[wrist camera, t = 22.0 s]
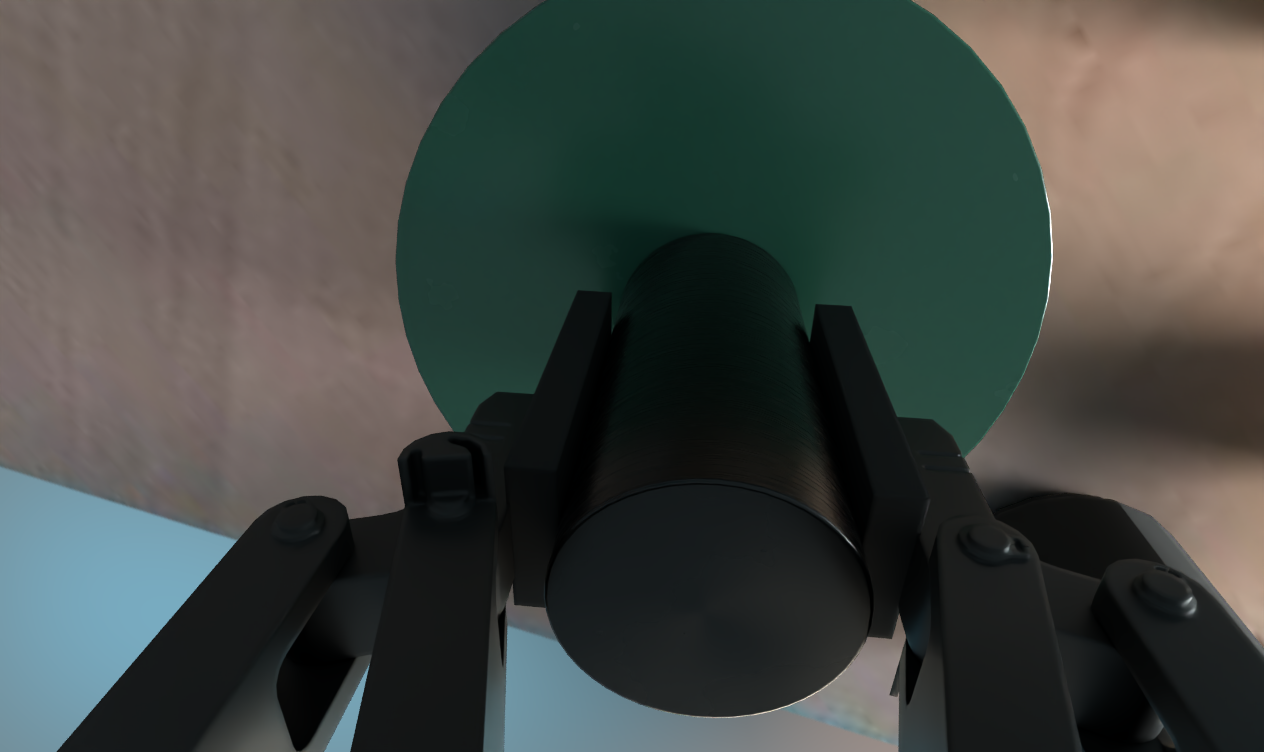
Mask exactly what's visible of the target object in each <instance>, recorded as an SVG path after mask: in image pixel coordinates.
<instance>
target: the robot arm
mask: <svg viewBox="0 0 1264 752" xmlns="http://www.w3.org/2000/svg"><path fill="white" fill-rule="evenodd" d="M611 329H612V292H599V291H582V290H578V291H577V293H576V295H575V298H574V300H573V302H572V305H571V307H570V310H569V312H568V314H567V317H566V319H565V322H564V324H563V326H562V329H561V331H560V333H559V336H558V338H557V341H556V343H555V345H554V348H553V350H552V352H551V355H550V357H549V360H548V362H547V364H546V367H545V369H544V371H543V374H542V376H541V379H540V381H539V383H538V386H537V388H536V390H535V393H534V394H526V393H511V392H496V393H494V394H493V395H492V396H490V397H489V398H487V399H486V400H485V401H483V402H482V403H481V404H479V405H478V407H477V409H476V411H475V413H474V415H473V416H472V418H471V420H470V424H468V426H467V428H466V430H465V431H464V432H453V431H448V432H442V433H435V434H430V435H428V436H425V437H423V438H420V439H418V440H415V441H414V442H413V443H411V444H410V445H408V446H407V447H406V448H404V449H403V451H402V453H401V454H400V456H399V458H398V459H397V461H398V467H399V473H400V479H401V485H402V491H403V497H404V503H405V508H404V509H402V510H400V511H397V512H393V513H388V514H384V515H378V516H370V517H363V518H356V519H349V517H348V514H347V510H346V507H345V506H344V505H343V504H341V503H340V502H339V501H338V500H336V499H333V498H329V497H325V496H303V497H299V498H295V499H291V500H287V501H284V502H282V503H280V504H278V505H276V506H274V507H272V508H270V509H268V510H267V511H265V512H264V513H263V514H262V515H261V516H260V517H258V518H257V519H256V520H255V521H254V522H253V523H252V524H251V526H250V527H249V528H248V529H247V530H246V531H245V533H244V534H243V535H242V536H241V537H240V538H239V540H238V541H237V542H236V543H235V544H234V545H233V547H232V548H231V549H230V550H229V551H228V552H227V554H226V555H225V556H224V557H223V558H222V559H221V561H220V562H219V563H218V564H217V565H216V566H215V568H214V569H213V570H212V571H211V572H210V573H209V575H208V576H207V577H206V578H205V579H204V580H203V582H202V583H201V584H200V585H199V586H198V587H197V589H196V590H195V591H194V592H193V593H192V594H191V596H190V597H189V598H188V599H187V600H186V601H185V603H184V604H183V605H182V606H181V607H180V608H179V610H178V611H177V612H176V613H175V614H174V616H173V617H172V618H171V619H170V620H169V621H168V622H167V624H166V625H165V626H164V627H163V628H162V629H161V631H160V632H159V633H158V634H157V635H156V636H155V638H154V639H153V640H152V641H151V642H150V644H149V645H148V646H147V647H146V648H145V649H144V650H143V652H142V653H141V654H140V655H139V656H138V657H137V659H136V660H135V661H134V662H133V663H132V664H131V666H130V667H129V668H128V669H127V670H126V671H125V673H124V674H123V675H122V676H121V677H120V678H119V680H118V681H117V682H116V683H115V684H114V685H113V687H112V688H111V689H110V690H109V691H108V692H107V694H106V695H105V696H104V697H103V698H102V699H101V701H100V702H99V703H98V704H97V705H96V707H95V708H94V709H93V710H92V711H91V712H90V713H89V715H88V716H87V717H86V718H85V719H84V720H83V722H82V723H81V724H80V725H79V726H78V727H77V729H76V730H75V731H74V732H73V733H72V734H71V736H70V737H69V738H68V739H67V740H66V741H65V743H64V744H63V745H62V746H61V747H60V749H59V750H58V751H57V752H324V751H325V749H326V747H327V745H328V743H329V741H330V739H331V737H332V735H333V734H334V732H335V730H336V728H337V725H338V724H339V722H340V720H341V718H342V716H343V714H344V712H345V710H346V708H347V706H348V704H349V702H350V700H351V698H352V697H353V695H354V693H355V691H356V689H357V687H358V685H359V683H360V681H361V679H362V677H363V675H364V673H365V671H366V669H367V667H368V665H369V664H370V665H369V670H368V675H367V679H366V683H365V688H364V693H363V697H362V702H361V706H360V711H359V715H358V720H357V724H356V729H355V734H354V738H353V742H352V747H351V751H350V752H504V732H505V694H506V656H507V616H506V601H507V598H508V595H509V592H510V589H511V586H512V583H513V593H514V605H521V606H532V607H543V608H546V606H545V599H544V581H545V575H546V571H547V566H548V562H549V559H550V555H551V551H552V548H553V544H554V541H555V537H556V533H557V530H558V526H559V523H560V519H561V515H562V512H563V508H564V504H565V501H566V497H567V494H568V490H569V486H570V483H571V479H572V476H573V472H574V468H575V465H576V461H577V457H578V454H579V450H580V447H581V443H582V439H583V436H584V432H585V429H586V425H587V421H588V418H589V414H590V410H591V407H592V403H593V400H594V396H595V392H596V389H597V385H598V382H599V378H600V374H601V371H602V367H603V363H604V360H605V356H606V353H607V349H608V345H609V342H610V338H611ZM810 347H811V351H812V354H813V358H814V362H815V366H816V370H817V374H818V378H819V381H820V385H821V389H822V393H823V397H824V401H825V404H826V408H827V412H828V416H829V420H830V424H831V427H832V431H833V435H834V439H835V443H836V447H837V450H838V454H839V458H840V462H841V466H842V470H843V474H844V477H845V481H846V485H847V489H848V493H849V497H850V500H851V504H852V508H853V512H854V516H855V520H856V523H857V527H858V531H859V535H860V539H861V543H862V547H863V550H864V554H865V558H866V562H867V566H868V570H869V573H870V578H871V582H872V587H873V591H874V612H873V618H872V624H871V627H870V630H869V633H868V636H867V637H878V638H889V639H892V637H893V633H894V630H895V626H896V622H897V619H898V615H899V613H900V616H901V620H902V623H903V627H904V630H905V634H906V641H905V644H904V647H903V651H902V654H901V658H900V661H899V665H898V668H897V671H896V675H895V678H894V682H893V685H892V688H891V692H890V695H892V696H895V697H897V696H898V693H899V752H1264V656H1263V655H1262V654H1261V652H1260V651H1259V650H1258V649H1257V648H1256V646H1255V645H1254V644H1253V643H1252V641H1251V640H1250V639H1249V638H1248V637H1247V635H1246V634H1245V633H1244V632H1243V630H1242V629H1241V628H1240V627H1239V626H1238V624H1237V623H1236V622H1235V621H1234V620H1233V618H1232V617H1231V616H1230V615H1229V613H1228V612H1227V611H1226V610H1225V609H1224V607H1223V606H1222V605H1221V604H1220V603H1219V601H1218V600H1217V599H1216V598H1215V597H1214V596H1213V595H1212V594H1211V593H1210V592H1209V591H1208V590H1207V589H1205V588H1204V587H1203V586H1202V585H1201V584H1200V583H1198V582H1197V581H1195V580H1193V579H1192V578H1190V577H1188V576H1187V575H1185V574H1183V573H1182V572H1180V571H1178V570H1175V569H1173V568H1171V567H1167V566H1165V565H1162V564H1160V563H1157V562H1152V561H1146V560H1141V559H1124V560H1118V561H1116V562H1114V563H1112V564H1111V565H1109V566H1108V567H1107V569H1106V571H1105V573H1104V575H1103V578H1102V580H1100V579H1096V578H1093V577H1089V576H1086V575H1082V574H1079V573H1075V572H1072V571H1069V570H1065V569H1062V568H1059V567H1056V566H1053V565H1050V564H1047V563H1045V562H1042V561H1040V560H1039V556H1038V554H1037V552H1036V550H1035V548H1034V546H1033V545H1032V543H1031V542H1030V541H1029V540H1028V539H1027V538H1026V537H1025V536H1023V535H1022V534H1021V533H1020V532H1019V531H1017V530H1016V529H1014V528H1012V527H1010V526H1008V525H1007V524H1005V523H1003V522H1001V521H998V520H996V519H995V517H994V516H993V514H992V512H991V510H990V508H989V506H988V504H987V502H986V500H985V498H984V496H983V494H982V492H981V490H980V488H979V486H978V484H977V482H976V480H975V479H974V477H973V475H972V473H969V467H968V465H967V463H966V461H965V459H964V458H962V453H961V451H960V449H959V447H958V445H957V444H956V442H955V440H954V438H953V436H952V435H951V434H950V433H949V432H947V431H946V430H945V429H944V428H943V427H941V426H940V425H939V424H938V423H937V422H935V421H934V420H933V419H921V418H907V417H897V415H896V413H895V410H894V408H893V406H892V403H891V401H890V398H889V396H888V393H887V391H886V389H885V386H884V384H883V381H882V379H881V376H880V374H879V372H878V369H877V367H876V364H875V362H874V359H873V357H872V355H871V352H870V350H869V347H868V345H867V342H866V340H865V338H864V335H863V333H862V330H861V328H860V325H859V323H858V321H857V318H856V316H855V313H854V311H853V308H852V306H844V305H827V304H816V305H815V311H814V318H813V324H812V330H811V337H810Z"/></svg>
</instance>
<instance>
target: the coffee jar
mask: <svg viewBox="0 0 1264 752" xmlns="http://www.w3.org/2000/svg"><path fill="white" fill-rule="evenodd" d="M993 516H994V517H995V519H996V520H998V521H1001V522H1003V523H1005V524H1007V525H1008V526H1010V527H1012V528H1014V529H1016V530H1017V531H1019V532H1020V533H1021V534H1022V535H1023V536H1025V537H1026V538H1027V539H1028V540H1029V541H1030V542H1031V543H1032V545H1033V546H1034V548H1035V550H1036V552H1037V554H1038V556H1039V560H1040V561H1042V562H1045V563H1047V564H1050V565H1053V566H1056V567H1059V568H1062V569H1065V570H1069V571H1072V572H1075V573H1079V574H1082V575H1086V576H1089V577H1093V578H1096V579H1100V580H1102V578H1103V575H1104V573H1105V571H1106V569H1107V567H1108V566H1109V565H1111V564H1112V563H1114V562H1116V561H1118V560H1124V559H1141V560H1146V561H1152V562H1157V563H1160V564H1162V565H1165V566H1167V567H1171V568H1173V569H1175V570H1178V571H1180V572H1182V573H1183V574H1185V575H1187V576H1188V577H1190V578H1192V579H1193V580H1195V581H1197V582H1198V583H1200V584H1201V585H1202V586H1203V587H1204V588H1205V589H1207V590H1208V591H1209V592H1210V593H1211V594H1212V595H1213V596H1214V597H1215V598H1216V599H1217V600H1218V601H1219V603H1220V604H1221V605H1222V606H1223V607H1224V609H1225V610H1226V611H1227V612H1228V613H1229V615H1230V616H1231V617H1232V618H1233V620H1234V621H1235V622H1236V623H1237V624H1238V626H1239V627H1240V628H1241V629H1242V630H1243V632H1244V633H1245V634H1246V635H1247V637H1248V638H1249V639H1250V640H1251V641H1252V643H1253V644H1254V645H1255V646H1256V648H1257V649H1258V650H1259V651H1260V652H1261V654H1262V655H1263V656H1264V648H1263V646H1262V645H1261V644H1260V643H1259V641H1258V640H1257V639H1256V638H1255V637H1254V635H1253V634H1252V633H1251V632H1250V630H1249V629H1248V628H1247V627H1246V625H1245V624H1244V623H1243V622H1242V621H1241V619H1240V618H1239V617H1238V616H1237V614H1236V613H1235V612H1234V611H1233V609H1232V608H1231V607H1230V606H1229V605H1228V603H1227V602H1226V601H1225V600H1224V598H1223V597H1222V596H1221V595H1220V593H1219V592H1218V591H1217V590H1216V588H1215V587H1214V586H1213V585H1212V584H1211V582H1210V581H1209V580H1208V579H1207V577H1206V576H1205V575H1204V574H1203V572H1202V571H1201V570H1200V569H1199V568H1198V566H1197V565H1196V564H1195V563H1194V561H1193V560H1192V559H1191V558H1190V556H1189V555H1188V554H1187V553H1186V551H1185V550H1184V549H1183V548H1182V547H1181V545H1180V544H1179V543H1178V542H1177V540H1176V539H1175V538H1174V537H1173V536H1172V535H1171V534H1170V533H1169V532H1168V531H1167V530H1166V529H1165V528H1164V527H1163V526H1161V525H1160V524H1159V523H1158V522H1157V521H1156V520H1155V519H1154V518H1153V517H1152V516H1150V515H1148V514H1146V513H1144V512H1141V511H1139V510H1136V509H1134V508H1131V507H1129V506H1127V505H1124V504H1122V503H1119V502H1117V501H1114V500H1111V499H1103V498H1101V497H1096V496H1086V495H1077V494H1068V493H1064V494H1056V495H1049V496H1041V497H1033V498H1030V499H1027V500H1024V501H1021V502H1019V503H1016V504H1013V505H1011V506H1008V507H1005V508H1002V509H1000V510H999V511H997V512H996V513H994V514H993Z"/></svg>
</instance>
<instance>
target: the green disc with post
mask: <svg viewBox="0 0 1264 752" xmlns="http://www.w3.org/2000/svg"><path fill="white" fill-rule="evenodd" d="M1052 259H1053V248H1052V229H1051V211H1050V207H1049V202H1048V197H1047V192H1046V187H1045V183H1044V178H1043V173H1042V168H1041V166H1040V163H1039V161H1038V158H1037V155H1036V153H1035V150H1034V147H1033V145H1032V142H1031V140H1030V137H1029V134H1028V132H1027V129H1026V127H1025V125H1024V123H1023V121H1022V119H1021V118H1020V116H1019V114H1018V112H1017V111H1016V109H1015V107H1014V106H1013V104H1012V102H1011V100H1010V99H1009V97H1008V95H1007V93H1006V92H1005V90H1004V88H1003V87H1002V85H1001V84H1000V82H999V81H998V80H997V79H996V78H995V76H994V75H993V74H992V73H991V71H990V70H989V69H988V68H987V67H986V65H985V64H984V63H983V62H982V61H981V59H980V58H979V57H978V56H977V54H976V53H975V52H974V51H973V50H972V48H971V47H970V46H969V45H967V44H966V43H965V42H964V41H963V40H962V39H961V38H960V37H958V36H957V35H956V34H955V33H954V32H953V31H952V30H950V29H949V28H948V27H947V26H946V25H945V24H944V23H943V22H941V21H940V20H939V19H938V18H937V17H936V16H935V15H933V14H932V13H930V12H929V11H927V10H926V9H924V8H922V7H921V6H919V5H918V4H916V3H914V2H913V1H911V0H545V1H543V2H542V3H540V4H539V5H537V6H536V7H535V8H533V9H532V10H531V11H529V12H528V13H527V14H525V15H524V16H523V17H521V18H520V19H519V20H517V21H516V22H515V23H513V24H512V25H511V26H509V27H508V28H507V29H505V30H504V31H503V32H501V33H500V34H499V35H498V36H497V37H496V38H495V39H494V40H493V41H492V42H491V43H490V44H489V45H488V46H487V47H486V48H485V49H484V50H483V52H482V53H481V54H480V55H479V56H478V57H477V58H476V59H475V60H474V61H473V62H472V63H471V64H470V65H469V66H468V67H467V68H466V70H465V71H464V72H463V74H462V75H461V76H460V78H459V79H458V80H457V82H456V83H455V85H454V86H453V87H452V89H451V90H450V91H449V93H448V94H447V95H446V97H445V98H444V100H443V101H442V102H441V104H440V106H439V108H438V109H437V111H436V113H435V115H434V117H433V119H432V121H431V123H430V125H429V126H428V128H427V130H426V132H425V134H424V136H423V138H422V140H421V142H420V144H419V147H418V150H417V153H416V155H415V158H414V161H413V164H412V167H411V169H410V172H409V175H408V178H407V181H406V185H405V190H404V195H403V199H402V204H401V209H400V214H399V219H398V230H397V246H396V272H397V285H398V298H399V304H400V309H401V313H402V318H403V323H404V327H405V332H406V337H407V339H408V342H409V345H410V348H411V351H412V353H413V356H414V359H415V362H416V365H417V368H418V370H419V372H420V374H421V376H422V378H423V380H424V382H425V384H426V386H427V388H428V390H429V392H430V394H431V396H432V398H433V400H434V402H435V404H436V405H437V407H438V408H439V410H440V411H441V413H442V414H443V416H444V417H445V419H446V420H447V422H448V423H449V425H450V426H451V428H452V429H453V431H454V432H464V431H465V430H466V428H467V426H468V424H470V420H471V418H472V416H473V415H474V413H475V411H476V409H477V407H478V405H479V404H481V403H482V402H483V401H485V400H486V399H487V398H489V397H490V396H492V395H493V394H494V393H496V392H511V393H526V394H534V393H535V390H536V388H537V386H538V383H539V381H540V379H541V376H542V374H543V371H544V369H545V367H546V364H547V362H548V360H549V357H550V355H551V352H552V350H553V348H554V345H555V343H556V341H557V338H558V336H559V333H560V331H561V329H562V326H563V324H564V322H565V319H566V317H567V314H568V312H569V310H570V307H571V305H572V302H573V300H574V298H575V295H576V293H577V291H578V290H582V291H599V292H612V329H611V338H610V342H609V345H608V349H607V353H606V356H605V360H604V363H603V367H602V371H601V374H600V378H599V382H598V385H597V389H596V392H595V396H594V400H593V403H592V407H591V410H590V414H589V418H588V421H587V425H586V429H585V432H584V436H583V439H582V443H581V447H580V450H579V454H578V457H577V461H576V465H575V468H574V472H573V476H572V479H571V483H570V486H569V490H568V494H567V497H566V501H565V504H564V508H563V512H562V515H561V519H560V523H559V526H558V530H557V533H556V537H555V541H554V544H553V548H552V551H551V555H550V559H549V562H548V566H547V571H546V575H545V581H544V599H545V606H546V612H547V615H548V618H549V621H550V625H551V628H552V630H553V632H554V634H555V636H556V638H557V640H558V642H559V643H560V644H561V646H562V647H563V649H564V650H565V651H566V653H567V655H568V656H569V657H570V658H571V659H572V660H573V661H574V662H575V663H576V664H577V666H578V667H580V668H581V669H582V670H583V671H584V672H585V673H586V674H587V675H589V676H590V677H591V678H592V679H594V680H595V681H597V682H598V683H600V684H601V685H602V686H604V687H605V688H607V689H609V690H611V691H612V692H614V693H616V694H618V695H620V696H622V697H624V698H626V699H628V700H631V701H633V702H635V703H638V704H640V705H643V706H647V707H650V708H653V709H656V710H660V711H664V712H668V713H673V714H678V715H685V716H692V717H705V718H706V717H707V718H731V717H741V716H751V715H756V714H761V713H766V712H770V711H774V710H777V709H780V708H784V707H787V706H790V705H792V704H795V703H797V702H799V701H802V700H804V699H806V698H808V697H810V696H812V695H813V694H815V693H817V692H819V691H821V690H822V689H823V688H825V687H826V686H828V685H829V684H830V683H832V682H833V681H835V680H836V679H837V678H838V677H839V676H840V675H841V674H842V673H843V672H844V671H845V670H846V669H847V668H848V667H849V666H850V665H851V663H852V662H853V661H854V660H855V658H856V657H857V656H858V654H859V652H860V650H861V649H862V647H863V645H864V643H865V642H866V639H867V636H868V633H869V630H870V627H871V624H872V618H873V612H874V591H873V587H872V582H871V578H870V573H869V570H868V566H867V562H866V558H865V554H864V550H863V547H862V543H861V539H860V535H859V531H858V527H857V523H856V520H855V516H854V512H853V508H852V504H851V500H850V497H849V493H848V489H847V485H846V481H845V477H844V474H843V470H842V466H841V462H840V458H839V454H838V450H837V447H836V443H835V439H834V435H833V431H832V427H831V424H830V420H829V416H828V412H827V408H826V404H825V401H824V397H823V393H822V389H821V385H820V381H819V378H818V374H817V370H816V366H815V362H814V358H813V354H812V351H811V347H810V337H811V330H812V324H813V318H814V311H815V305H816V304H827V305H844V306H852V308H853V311H854V313H855V316H856V318H857V321H858V323H859V325H860V328H861V330H862V333H863V335H864V338H865V340H866V342H867V345H868V347H869V350H870V352H871V355H872V357H873V359H874V362H875V364H876V367H877V369H878V372H879V374H880V376H881V379H882V381H883V384H884V386H885V389H886V391H887V393H888V396H889V398H890V401H891V403H892V406H893V408H894V410H895V413H896V415H897V417H907V418H921V419H933V420H934V421H935V422H937V423H938V424H939V425H940V426H941V427H943V428H944V429H945V430H946V431H947V432H949V433H950V434H951V435H952V436H953V438H954V440H955V442H956V444H957V445H958V447H959V449H960V451H961V453H962V458H965V456H966V455H967V454H968V453H969V452H970V451H971V450H972V449H973V448H974V447H975V446H976V445H977V444H978V443H979V442H980V441H981V440H982V438H983V437H984V436H985V434H986V433H987V432H988V430H989V429H990V428H991V426H992V425H993V424H994V422H995V421H996V420H997V418H998V417H999V416H1000V414H1001V413H1002V412H1003V410H1004V409H1005V407H1006V405H1007V403H1008V402H1009V400H1010V398H1011V396H1012V395H1013V393H1014V391H1015V389H1016V388H1017V386H1018V384H1019V382H1020V381H1021V379H1022V377H1023V375H1024V373H1025V370H1026V368H1027V365H1028V363H1029V360H1030V358H1031V355H1032V353H1033V351H1034V348H1035V346H1036V343H1037V341H1038V338H1039V334H1040V330H1041V326H1042V322H1043V318H1044V314H1045V310H1046V306H1047V302H1048V298H1049V289H1050V279H1051V269H1052Z"/></svg>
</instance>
